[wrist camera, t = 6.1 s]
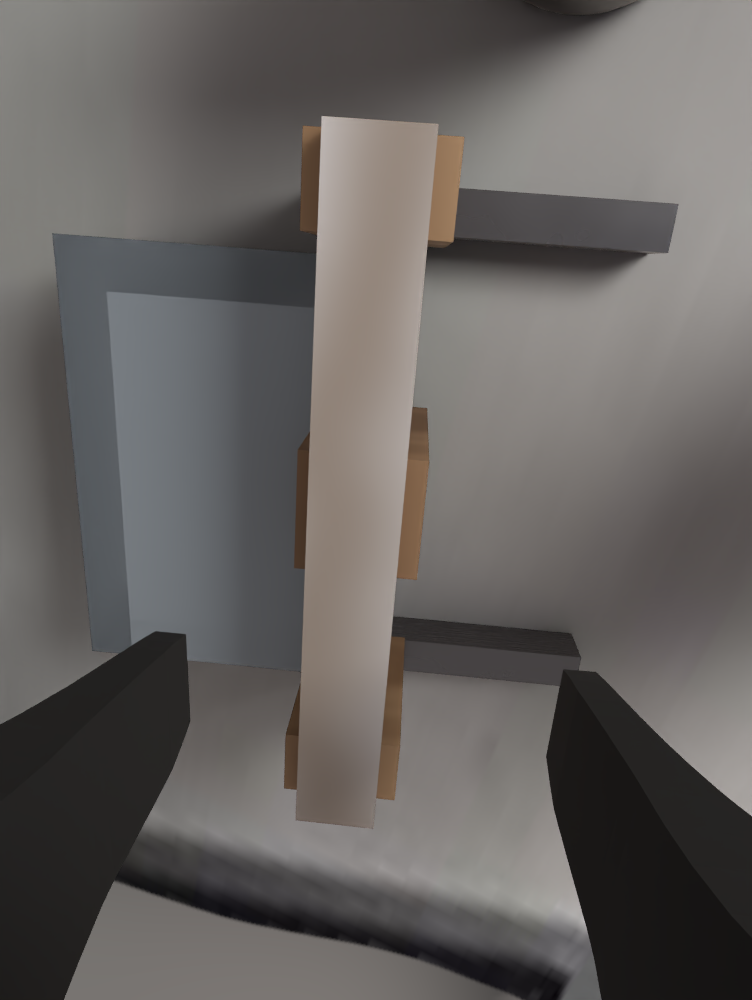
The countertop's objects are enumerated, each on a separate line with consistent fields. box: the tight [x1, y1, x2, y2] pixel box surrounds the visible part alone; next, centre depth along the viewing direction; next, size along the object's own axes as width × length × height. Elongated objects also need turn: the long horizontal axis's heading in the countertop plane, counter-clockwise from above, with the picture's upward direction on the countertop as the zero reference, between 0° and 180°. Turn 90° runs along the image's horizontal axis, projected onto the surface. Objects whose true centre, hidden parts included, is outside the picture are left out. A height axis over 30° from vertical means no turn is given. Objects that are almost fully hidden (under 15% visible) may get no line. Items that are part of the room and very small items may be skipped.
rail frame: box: [391, 188, 678, 686], centre depth 20 cm, size 10×15×2 cm, turn 176°
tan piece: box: [284, 116, 464, 829], centre depth 17 cm, size 3×16×7 cm, turn 176°
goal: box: [52, 233, 317, 672], centre depth 19 cm, size 6×11×5 cm, turn 176°
